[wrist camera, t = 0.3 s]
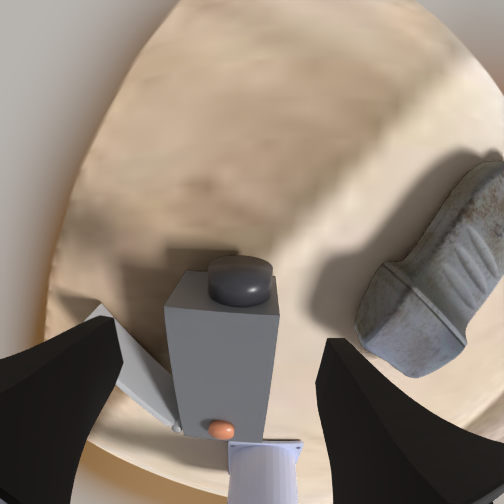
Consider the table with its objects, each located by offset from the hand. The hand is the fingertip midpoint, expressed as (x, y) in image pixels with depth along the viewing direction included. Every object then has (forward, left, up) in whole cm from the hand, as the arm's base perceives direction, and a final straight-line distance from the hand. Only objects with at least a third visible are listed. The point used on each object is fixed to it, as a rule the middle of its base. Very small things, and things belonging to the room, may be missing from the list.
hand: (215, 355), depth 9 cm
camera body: (-7, +1, -10) cm, 12 cm away
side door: (-9, +8, -10) cm, 15 cm away
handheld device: (+2, -16, -11) cm, 20 cm away
